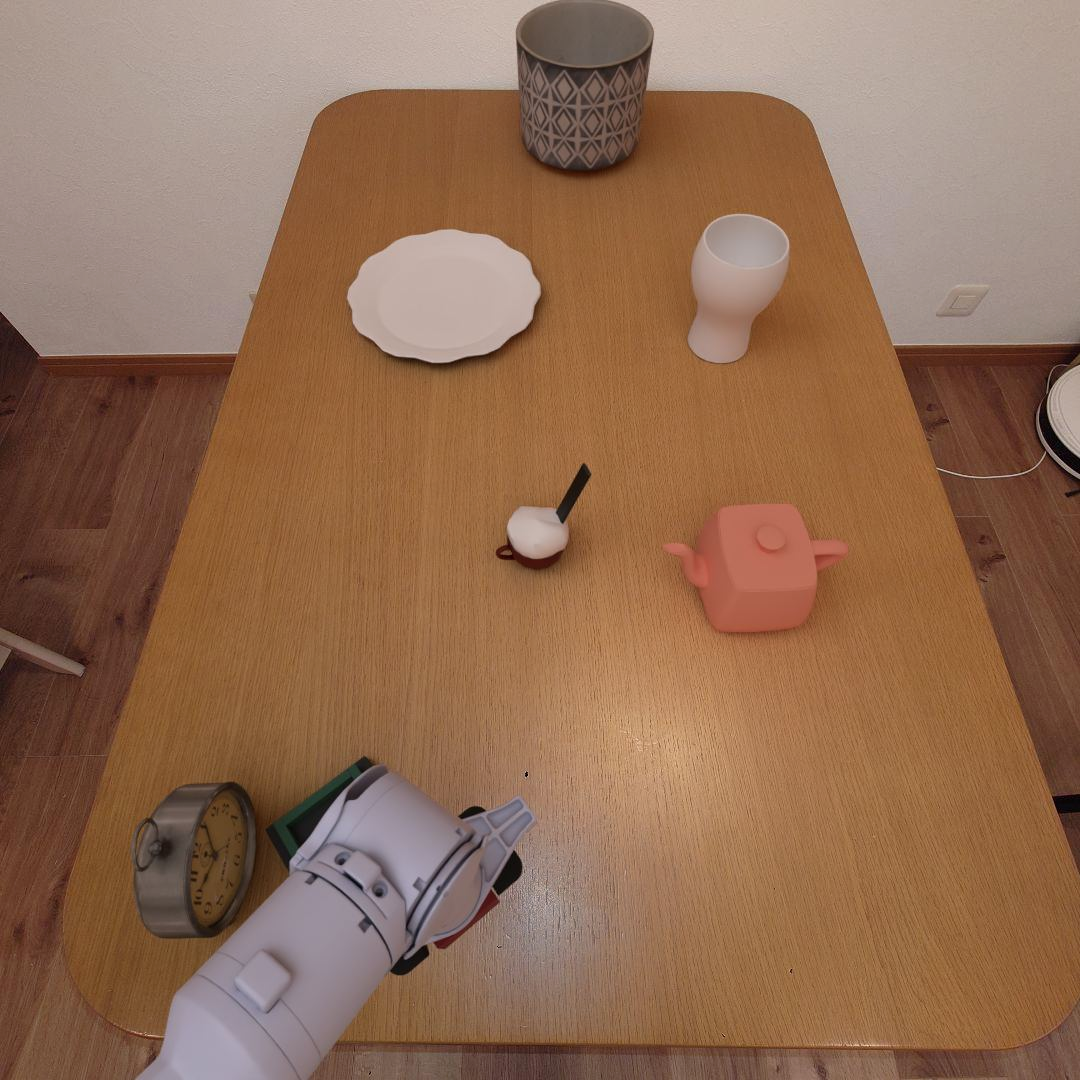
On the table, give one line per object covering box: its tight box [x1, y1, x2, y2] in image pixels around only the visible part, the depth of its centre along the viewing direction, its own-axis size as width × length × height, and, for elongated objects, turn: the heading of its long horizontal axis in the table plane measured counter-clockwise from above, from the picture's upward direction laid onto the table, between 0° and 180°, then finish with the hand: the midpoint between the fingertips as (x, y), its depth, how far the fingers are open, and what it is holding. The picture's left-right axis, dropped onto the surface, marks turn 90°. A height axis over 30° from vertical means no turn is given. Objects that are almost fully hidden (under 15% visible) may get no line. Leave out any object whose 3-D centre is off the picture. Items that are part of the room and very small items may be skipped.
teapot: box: [662, 502, 850, 633], centre depth 69 cm, size 12×18×10 cm, turn 93°
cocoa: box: [495, 462, 592, 571], centre depth 71 cm, size 10×6×12 cm, turn 92°
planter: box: [515, 0, 655, 172], centre depth 107 cm, size 19×19×16 cm
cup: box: [687, 213, 791, 364], centre depth 85 cm, size 11×11×15 cm
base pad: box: [264, 755, 374, 874], centre depth 61 cm, size 10×9×3 cm
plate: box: [346, 228, 542, 365], centre depth 95 cm, size 25×25×2 cm
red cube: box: [432, 888, 500, 950], centre depth 52 cm, size 5×5×4 cm
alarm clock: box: [130, 781, 257, 940], centre depth 54 cm, size 11×5×16 cm, turn 1°
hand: (451, 894), depth 52 cm, fingers closed on red cube, 5 cm apart
